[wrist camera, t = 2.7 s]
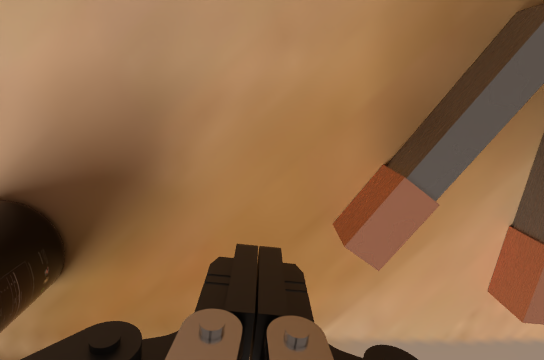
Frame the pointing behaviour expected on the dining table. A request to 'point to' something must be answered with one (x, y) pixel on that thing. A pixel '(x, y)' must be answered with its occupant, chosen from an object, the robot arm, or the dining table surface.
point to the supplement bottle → (25, 258)
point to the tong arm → (446, 142)
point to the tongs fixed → (524, 253)
